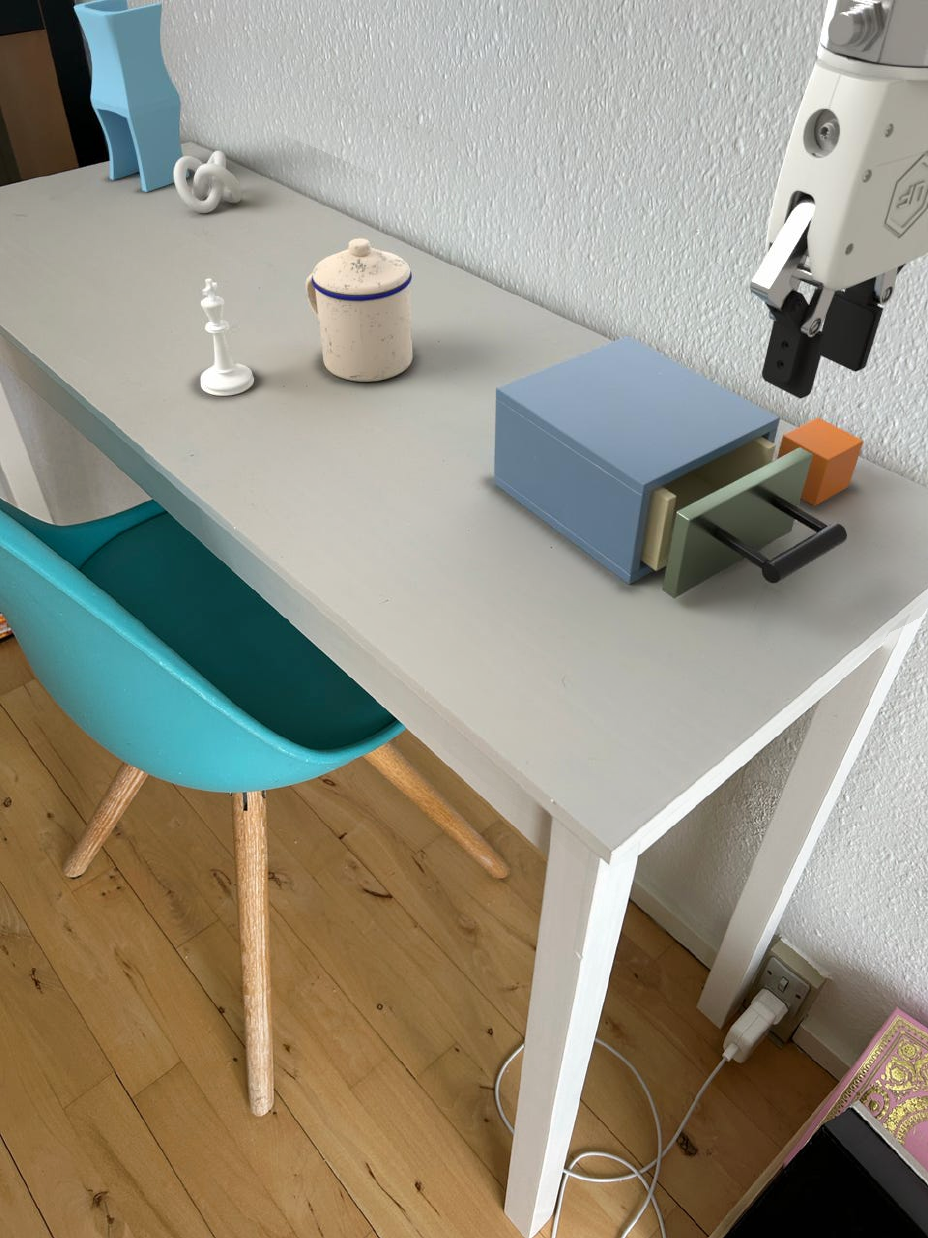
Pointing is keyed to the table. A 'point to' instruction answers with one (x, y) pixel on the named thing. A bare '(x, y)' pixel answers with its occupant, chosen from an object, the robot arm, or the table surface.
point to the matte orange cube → (824, 457)
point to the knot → (206, 182)
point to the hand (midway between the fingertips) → (813, 371)
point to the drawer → (733, 518)
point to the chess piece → (221, 351)
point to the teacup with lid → (363, 312)
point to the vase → (133, 90)
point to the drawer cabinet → (613, 442)
